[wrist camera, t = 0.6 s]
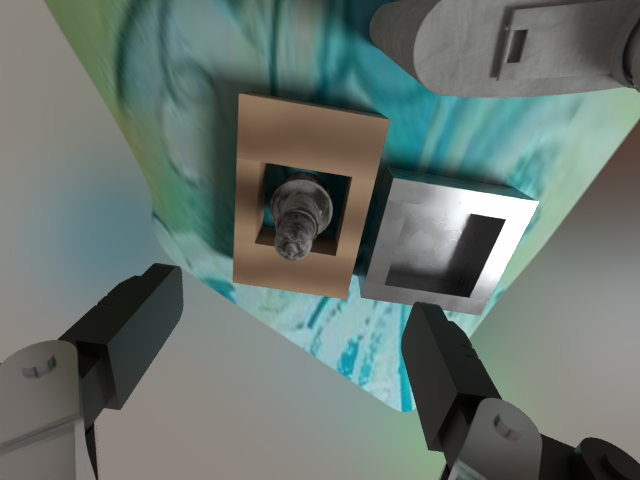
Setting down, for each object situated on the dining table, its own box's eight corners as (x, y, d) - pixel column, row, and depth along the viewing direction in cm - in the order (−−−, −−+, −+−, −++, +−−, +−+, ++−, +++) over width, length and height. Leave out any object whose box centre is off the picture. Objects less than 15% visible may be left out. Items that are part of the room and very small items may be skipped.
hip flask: (592, -40, 22) (1298, -185, 6) (574, 28, 24) (1042, 59, 8) (367, 7, 24) (432, -5, 8) (371, 65, 26) (427, 148, 10)
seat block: (386, 166, 30) (393, 177, 26) (514, 188, 31) (538, 201, 27) (358, 276, 36) (360, 297, 32) (466, 292, 36) (480, 315, 33)
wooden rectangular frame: (250, 92, 27) (238, 93, 24) (382, 114, 28) (390, 119, 24) (242, 262, 36) (232, 282, 32) (344, 277, 36) (346, 299, 33)
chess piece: (267, 210, 33) (236, 272, 22) (288, 159, 30) (264, 201, 19) (318, 231, 34) (311, 301, 23) (342, 184, 31) (347, 237, 20)
